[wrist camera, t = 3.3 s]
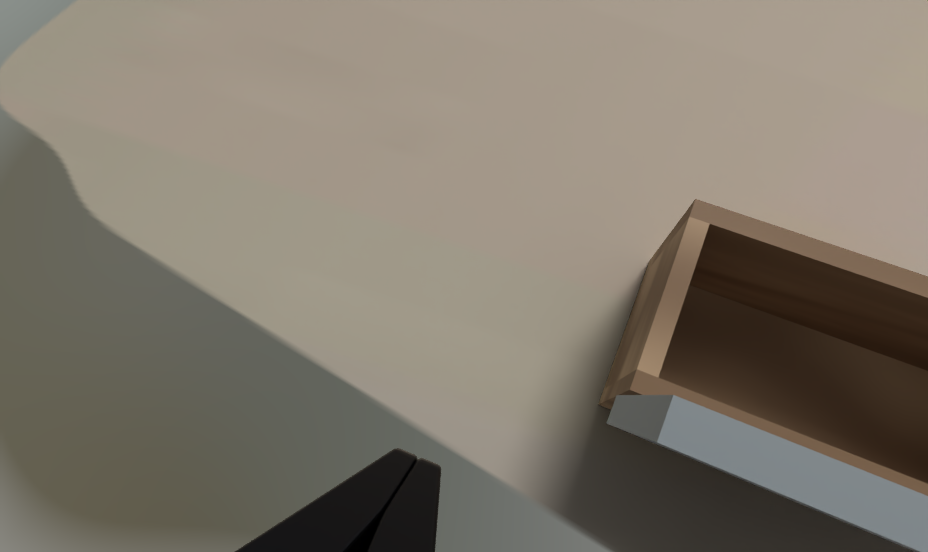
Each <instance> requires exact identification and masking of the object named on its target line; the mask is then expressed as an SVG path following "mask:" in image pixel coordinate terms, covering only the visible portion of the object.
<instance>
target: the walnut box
mask: <svg viewBox="0 0 928 552" xmlns="http://www.w3.org/2000/svg"><path fill="white" fill-rule="evenodd" d="M617 395H675V396H677V397H680V398H682V399H685V400H688V401H690V402H693V403H695V404H698V405H700V406H703V407H705V408H708V409H710V410H713V411H715V412H718V413H720V414H723V415H725V416H728V417H730V418H733V419H735V420H738V421H740V422H743V423H745V424H748V425H750V426H753V427H755V428H758V429H760V430H763V431H765V432H768V433H771V434H773V435H776V436H778V437H781V438H783V439H786V440H788V441H791V442H793V443H796V444H798V445H801V446H803V447H806V448H808V449H811V450H813V451H816V452H818V453H821V454H823V455H826V456H828V457H831V458H833V459H836V460H838V461H841V462H843V463H846V464H848V465H851V466H854V467H856V468H859V469H861V470H864V471H866V472H869V473H871V474H874V475H876V476H879V477H881V478H884V479H886V480H889V481H891V482H894V483H896V484H899V485H901V486H904V487H906V488H909V489H911V490H914V491H916V492H919V493H921V494H924V495H926V496H928V277H927V276H925V275H922V274H919V273H916V272H913V271H910V270H907V269H904V268H901V267H898V266H895V265H892V264H889V263H886V262H883V261H880V260H877V259H874V258H871V257H868V256H865V255H862V254H859V253H856V252H853V251H850V250H847V249H844V248H841V247H838V246H835V245H832V244H829V243H826V242H823V241H820V240H817V239H814V238H811V237H808V236H805V235H802V234H799V233H796V232H793V231H790V230H787V229H784V228H781V227H778V226H775V225H772V224H769V223H766V222H763V221H760V220H757V219H754V218H751V217H748V216H745V215H742V214H739V213H736V212H733V211H730V210H727V209H724V208H721V207H718V206H715V205H712V204H709V203H706V202H703V201H700V200H697V199H695V200H694V202H693V203H692V204H691V206H690V207H689V209H688V210H687V211H686V213H685V214H684V215H683V217H682V218H681V219H680V221H679V222H678V223H677V225H676V226H675V227H674V229H673V230H672V231H671V233H670V234H669V235H668V237H667V238H666V239H665V241H664V242H663V243H662V245H661V246H660V247H659V249H658V250H657V251H656V253H655V254H654V255H653V257H652V258H651V260H650V261H649V264H648V267H647V269H646V272H645V275H644V278H643V281H642V283H641V286H640V289H639V292H638V295H637V297H636V300H635V303H634V306H633V309H632V311H631V314H630V317H629V320H628V323H627V325H626V328H625V331H624V334H623V337H622V340H621V342H620V345H619V348H618V351H617V354H616V356H615V359H614V362H613V365H612V368H611V370H610V373H609V376H608V379H607V382H606V384H605V387H604V390H603V393H602V396H601V398H600V401H599V404H598V405H601V406H603V407H606V408H608V409H612V407H613V404H614V401H615V398H616V396H617Z"/></svg>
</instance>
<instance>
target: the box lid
mask: <svg viewBox="0 0 928 552" xmlns="http://www.w3.org/2000/svg"><path fill="white" fill-rule="evenodd" d="M606 424H609V425H611V426H614V427H616V428H618V429H621V430H623V431H626V432H628V433H631V434H633V435H635V436H638V437H640V438H643V439H645V440H647V441H650V442H652V443H655V444H657V445H659V446H662V447H664V448H667V449H669V450H671V451H674V452H676V453H679V454H681V455H683V456H686V457H688V458H691V459H693V460H696V461H698V462H700V463H703V464H705V465H708V466H710V467H712V468H715V469H717V470H720V471H722V472H724V473H727V474H729V475H732V476H734V477H736V478H739V479H741V480H744V481H746V482H748V483H751V484H753V485H756V486H758V487H761V488H763V489H765V490H768V491H770V492H773V493H775V494H777V495H780V496H782V497H785V498H787V499H789V500H792V501H794V502H797V503H799V504H801V505H804V506H806V507H809V508H811V509H814V510H816V511H818V512H821V513H823V514H826V515H828V516H830V517H833V518H835V519H838V520H840V521H842V522H845V523H847V524H850V525H852V526H854V527H857V528H859V529H862V530H864V531H866V532H869V533H871V534H874V535H876V536H879V537H881V538H883V539H886V540H888V541H891V542H893V543H895V544H898V545H900V546H903V547H905V548H907V549H910V550H912V551H915V552H928V496H926V495H924V494H921V493H919V492H916V491H914V490H911V489H909V488H906V487H904V486H901V485H899V484H896V483H894V482H891V481H889V480H886V479H884V478H881V477H879V476H876V475H874V474H871V473H869V472H866V471H864V470H861V469H859V468H856V467H854V466H851V465H848V464H846V463H843V462H841V461H838V460H836V459H833V458H831V457H828V456H826V455H823V454H821V453H818V452H816V451H813V450H811V449H808V448H806V447H803V446H801V445H798V444H796V443H793V442H791V441H788V440H786V439H783V438H781V437H778V436H776V435H773V434H771V433H768V432H765V431H763V430H760V429H758V428H755V427H753V426H750V425H748V424H745V423H743V422H740V421H738V420H735V419H733V418H730V417H728V416H725V415H723V414H720V413H718V412H715V411H713V410H710V409H708V408H705V407H703V406H700V405H698V404H695V403H693V402H690V401H688V400H685V399H682V398H680V397H677V396H675V395H617V396H616V398H615V401H614V404H613V407H612V409H611V412H610V415H609V418H608V420H607V423H606Z"/></svg>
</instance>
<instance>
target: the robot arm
mask: <svg viewBox="0 0 928 552" xmlns="http://www.w3.org/2000/svg"><path fill="white" fill-rule="evenodd" d="M440 477H441V467H440V466H439V465H438V464H436V463H433V462H431V461H428V460H426V459H423V458H420V459H417V456H415V455H414V454H411V453H409V452H406V451H404V450H402V449H399V448H397V449H393V450H392V451H390V452H389V453H387V454H386V455H384V456H382V457H381V458H379V459H378V460H376V461H375V462H373V463H372V464H370V465H368V466H367V467H366V468H364V469H363V470H361V471H359V472H358V473H356V474H355V475H353V476H352V477H350V478H348V479H347V480H345V481H344V482H342V483H341V484H339V485H337V486H336V487H334V488H333V489H331V490H330V491H329V492H327V493H325V494H324V495H322V496H320V497H319V498H317V499H316V500H314V501H313V502H311V503H310V504H308V505H306V506H305V507H303V508H302V509H300V510H299V511H297V512H296V513H294V514H293V515H291V516H289V517H288V518H286V519H285V520H283V521H282V522H280V523H278V524H277V525H275V526H274V527H272V528H271V529H269V530H268V531H266V532H265V533H263V534H261V535H260V536H258V537H257V538H256V539H254V540H252V541H251V542H249V543H247V544H246V545H244V546H243V547H241V548H240V549H238V550H237V551H235V552H435V544H436V531H437V518H438V505H439V492H440Z"/></svg>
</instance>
